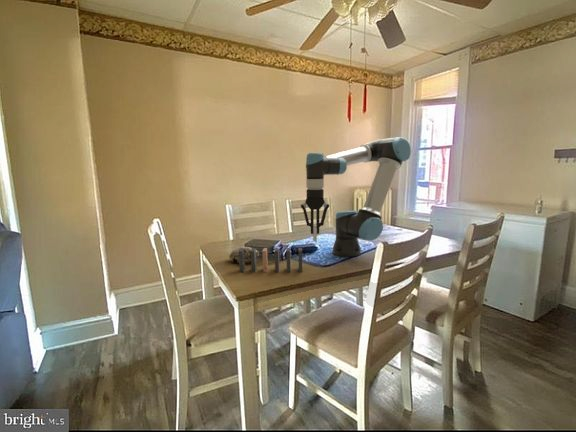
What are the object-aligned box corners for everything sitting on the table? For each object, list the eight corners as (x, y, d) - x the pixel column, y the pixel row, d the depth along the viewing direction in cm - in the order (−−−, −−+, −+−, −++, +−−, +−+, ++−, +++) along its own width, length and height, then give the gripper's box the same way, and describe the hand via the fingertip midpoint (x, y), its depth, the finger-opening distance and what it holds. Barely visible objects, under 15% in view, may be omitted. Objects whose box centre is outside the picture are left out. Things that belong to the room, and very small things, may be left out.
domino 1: (245, 268, 145) (244, 248, 143) (243, 272, 140) (242, 251, 138) (241, 268, 145) (240, 248, 143) (239, 272, 140) (238, 251, 138)
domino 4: (279, 268, 144) (278, 247, 143) (278, 272, 139) (278, 250, 138) (275, 268, 144) (275, 248, 143) (275, 272, 139) (274, 251, 138)
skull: (258, 271, 153) (251, 261, 146) (231, 267, 159) (222, 257, 152) (264, 255, 158) (257, 244, 151) (238, 252, 165) (230, 242, 157)
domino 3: (267, 268, 145) (267, 248, 143) (266, 272, 140) (265, 251, 138) (264, 268, 145) (263, 248, 143) (263, 272, 140) (262, 251, 138)
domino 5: (290, 268, 144) (290, 247, 142) (290, 272, 139) (289, 250, 137) (287, 268, 144) (286, 247, 142) (286, 272, 139) (286, 250, 138)
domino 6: (302, 268, 144) (301, 247, 142) (302, 272, 139) (302, 250, 137) (298, 268, 144) (298, 247, 142) (298, 272, 139) (298, 250, 137)
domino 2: (256, 268, 145) (255, 248, 143) (254, 272, 140) (254, 251, 138) (253, 268, 145) (252, 248, 143) (251, 272, 140) (250, 251, 138)
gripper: (329, 187, 138) (328, 238, 142) (300, 188, 139) (300, 238, 143) (330, 189, 131) (330, 242, 135) (300, 189, 131) (300, 242, 135)
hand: (314, 240), depth 139 cm, fingers closed
